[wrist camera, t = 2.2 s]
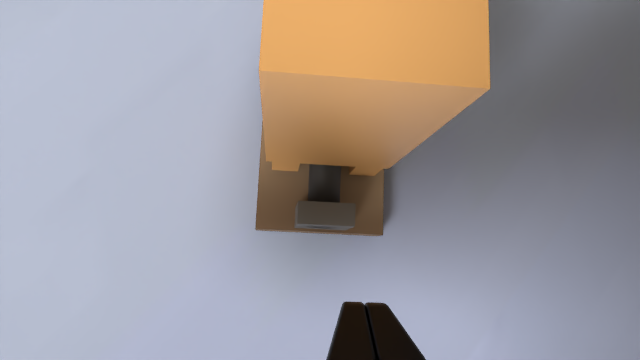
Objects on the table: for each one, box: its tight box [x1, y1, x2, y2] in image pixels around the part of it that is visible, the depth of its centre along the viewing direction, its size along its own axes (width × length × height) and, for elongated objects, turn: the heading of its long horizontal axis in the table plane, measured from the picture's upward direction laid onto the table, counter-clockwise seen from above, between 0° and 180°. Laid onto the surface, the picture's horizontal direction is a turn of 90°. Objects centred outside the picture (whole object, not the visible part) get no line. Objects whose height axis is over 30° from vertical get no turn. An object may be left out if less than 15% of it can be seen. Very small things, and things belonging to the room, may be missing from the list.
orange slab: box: [259, 0, 490, 176], centre depth 14 cm, size 2×4×10 cm, turn 88°
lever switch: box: [255, 122, 384, 236], centre depth 18 cm, size 12×5×5 cm, turn 178°
